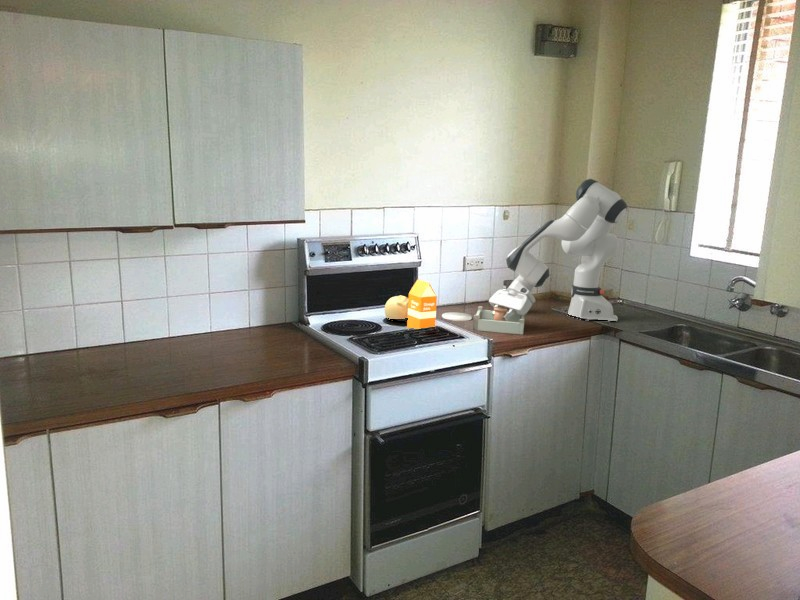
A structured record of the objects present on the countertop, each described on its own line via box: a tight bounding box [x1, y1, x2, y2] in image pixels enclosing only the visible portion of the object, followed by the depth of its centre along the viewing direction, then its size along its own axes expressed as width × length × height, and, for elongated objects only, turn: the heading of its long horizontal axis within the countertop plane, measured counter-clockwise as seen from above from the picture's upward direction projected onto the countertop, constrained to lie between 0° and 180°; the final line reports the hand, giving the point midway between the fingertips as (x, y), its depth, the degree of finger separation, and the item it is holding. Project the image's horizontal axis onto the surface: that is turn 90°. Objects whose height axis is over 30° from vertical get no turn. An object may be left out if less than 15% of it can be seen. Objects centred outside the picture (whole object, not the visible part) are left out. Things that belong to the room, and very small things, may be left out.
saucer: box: [441, 311, 473, 322], centre depth 295 cm, size 13×13×1 cm
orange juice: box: [406, 279, 438, 329], centre depth 267 cm, size 8×9×20 cm
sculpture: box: [384, 294, 409, 320], centre depth 284 cm, size 11×12×11 cm
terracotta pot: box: [493, 307, 508, 321], centre depth 281 cm, size 6×6×8 cm
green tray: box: [472, 305, 526, 335], centre depth 281 cm, size 20×20×6 cm
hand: (498, 316), depth 281 cm, fingers closed on terracotta pot, 5 cm apart
